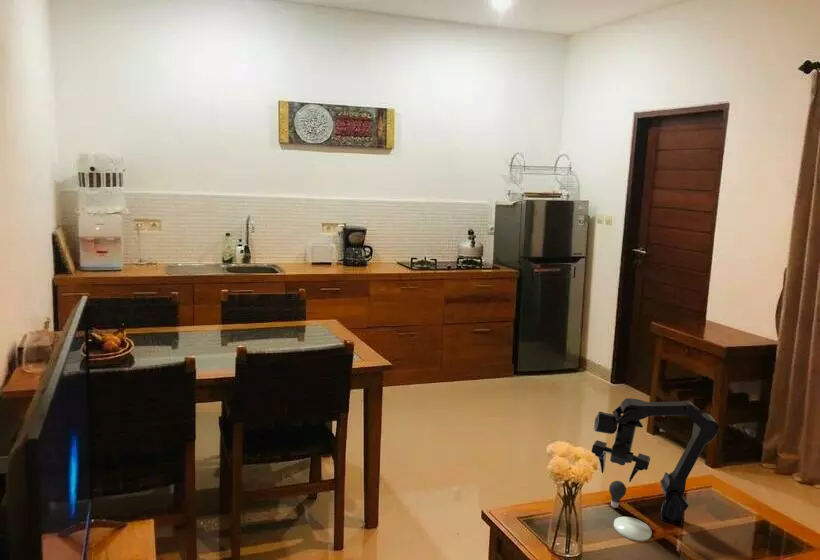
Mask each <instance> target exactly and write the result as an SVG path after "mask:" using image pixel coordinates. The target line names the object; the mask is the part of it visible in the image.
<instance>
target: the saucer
mask: <svg viewBox="0 0 820 560" xmlns="http://www.w3.org/2000/svg"><path fill="white" fill-rule="evenodd" d="M613 529H614V530H615V531H616V532H617V533H618V534H619V535H620V536H623V537H624V538H626V539H629V540H632V541H636V542H645V541H649V540H650V539H651V537H652V533H653V532H652V529H651V528H650V526H649V525H648V524H647V523H645V522H643V521H642V520H640V519H637V518H635V517H631V516H619V517H617V518H615V519H614V521H613Z"/></svg>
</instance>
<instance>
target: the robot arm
mask: <svg viewBox="0 0 820 560" xmlns="http://www.w3.org/2000/svg"><path fill="white" fill-rule="evenodd" d="M597 413H598V414H596V417H595V419H594V427H593V428H594V431H595V432H596V433H598V432H599V433H602V434H609V435H613V434H615V438H614V443H613V444H612V447H609V446H608V444H607V443H608V442H604V441H601V440H595V441H594V443H593V445H592V447H591V453H592V454H594V456H595V457H597V458H598V461H599V465H600V469H601V470H600V471H601V473H602V474H604V471H605V467H606V458H607V454H609V455H610V458H609V461H610V463H612V464H613V463H614V464H618V465H619V466H625V465H626V464H628V463H629V464H631V463H632V462H634V463H635V464H634V467H633V469H632V472H631V473H630V477H629V478H628V482H629V483H631V481H632V480H633V479H634V477H635V475H636V474H637V473H638V472H639V471H648V468H649V466H650V462H651V457H650V456H649V455H646V454H643V453H638V455H634V452H631V451H632V447H633V442H634V437H635V433H636V429H637V427H638V428H644V427H643V426H644V425H643V423H642V422H641V420H645V419H646V418H648V417H669V416H670V417H672V416H680V417H681V416H687V417H688V418H690V420H692V421H693V427H692V434H691V438H690V439H689V441H688V443H687V445H686V447H685V449H684V451H683V452H682V454H681V456H680V459H679V460H678V462H677V464H676V465H675V468H674V469H673V471H671V472H670V473H668V472H664V475H663V477H662V479H661V480H660V489H661V492H662V493H663V495H664V497H665V499H664V500H665V501H663V502H662V505H661V510H660V516H661V520H662V522H663V521H664V522H667V523H670V524H674V525H677V526H683V518H684V514H685V511H686V510H687V508H688V507H689V503H688V501H687V500H686V498H685V496H684V495H685V493H686V492H685V491H686V484H687V480H688V477H689V475H690V473H691V472H692V470H693V468H694V466H695V464H696V462H697V460H698V459H699V456H700V455H701V453H702V451H703V450H704V448H705V446H706V445H707V444H708V443H710V442H711V441H713V440H714V438H715V437H716V436H717V435H718V433H719V431H720V427H719V424H718V422H717V421H716V420H715V419H714V417H712V415H711V414H709V413H707V412H705V413H704V412H703V411H702V410H701V409H699V408H698V407H697V406H696V405H694V404H693V403H692V401H690V400H682V401H645V400H641V399H637V398H630V397H629V398H625V399H624V400H622V402H621V403H620V405H618V407H617V408H615V409H613V411H612V413H606V412H604V411H598V412H597Z"/></svg>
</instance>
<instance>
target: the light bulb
mask: <svg viewBox="0 0 820 560" xmlns="http://www.w3.org/2000/svg"><path fill="white" fill-rule="evenodd" d="M608 488H609V489H608V491H609V493H610V498H611V502H610V506H611V507H612V508H613V509H616V508H619V505H620V501H621V500H622V499H623V497H625V495H626V493H627V487H626V485H625V484H624V482H622V481H620V480H614V481H612V482H611V483H610V485H609V486H608Z"/></svg>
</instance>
